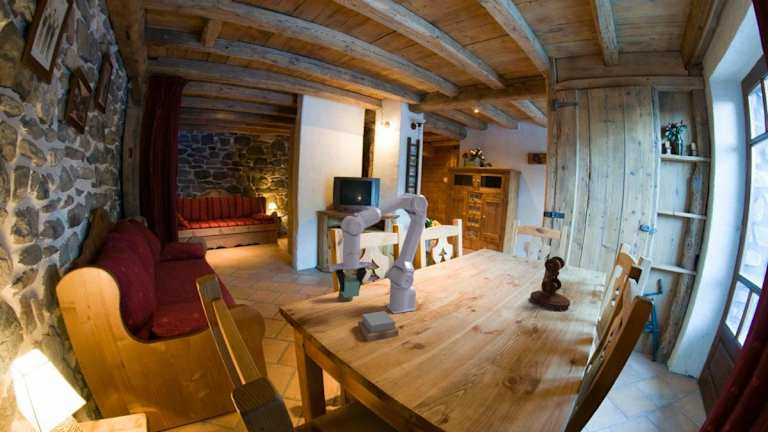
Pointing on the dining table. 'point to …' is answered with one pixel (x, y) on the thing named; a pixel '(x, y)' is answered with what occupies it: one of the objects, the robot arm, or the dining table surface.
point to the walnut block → (376, 335)
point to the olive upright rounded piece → (340, 296)
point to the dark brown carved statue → (551, 285)
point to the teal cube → (351, 287)
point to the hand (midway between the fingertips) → (349, 289)
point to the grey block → (378, 321)
